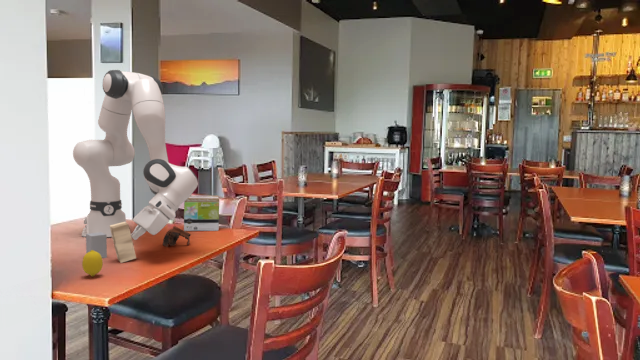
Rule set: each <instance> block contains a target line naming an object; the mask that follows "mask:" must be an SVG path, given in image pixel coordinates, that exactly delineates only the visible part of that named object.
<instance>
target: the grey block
mask: <svg viewBox="0 0 640 360" xmlns="http://www.w3.org/2000/svg"><path fill="white" fill-rule="evenodd" d="M107 238H108V237H106V234H104V233H102V232H98V233H89V234H86V237H85V245H86V246H85V248H86V250H85V251H86V252H85V254H86V253H88V252H90V251H91V250H94V251H96V252H98V253H99V254H100V255H101V257H102V259H107V258H108V255H107V254H108V251H107V244H108V243H107Z"/></svg>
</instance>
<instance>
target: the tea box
mask: <svg viewBox="0 0 640 360" xmlns="http://www.w3.org/2000/svg"><path fill="white" fill-rule="evenodd" d="M183 203H184V204H183V231H185V232H191V231H192V232H195V231H199V232H200V231H203V232H205V231H206V232H208V231H209V232H212V231H213V232H214V231H215V232H216V231H217V232H218V231H219V229H220V227H219V226H220V198H219V195H205V194H204V195H203V194H202V195H200V194H199V195H196V194H195V195H192V194H191V195H190V196H189V198H188V199H187V200H186V201H184V202H183Z"/></svg>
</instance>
